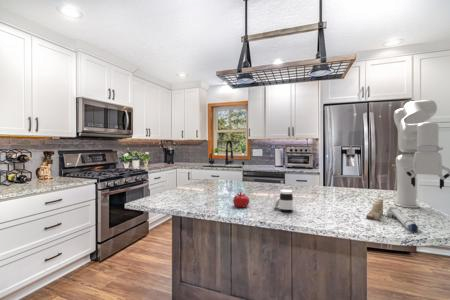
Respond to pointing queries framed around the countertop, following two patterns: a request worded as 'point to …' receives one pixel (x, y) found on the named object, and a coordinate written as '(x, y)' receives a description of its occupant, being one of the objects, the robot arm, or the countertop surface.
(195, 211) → the countertop surface
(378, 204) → the peg rack
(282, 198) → the spread jar
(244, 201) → the pomegranate
